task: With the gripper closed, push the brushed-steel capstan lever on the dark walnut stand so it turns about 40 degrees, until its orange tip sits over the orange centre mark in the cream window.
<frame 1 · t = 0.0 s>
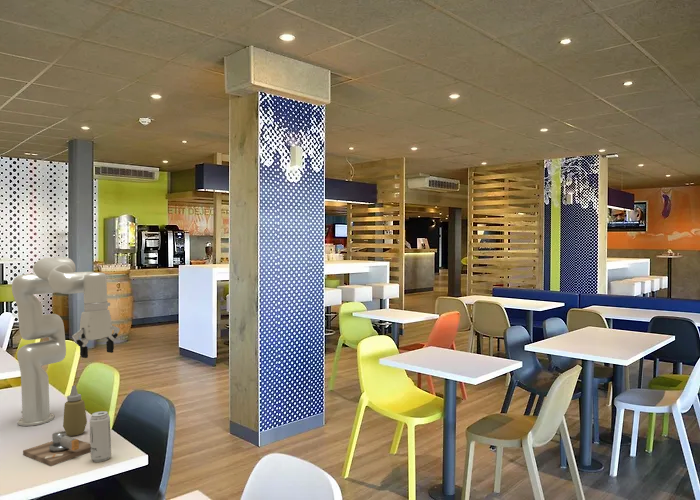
hand: (97, 354, 189), 31 cm above the table, tool pointing down, fingers open, 9 cm apart
capstan: (65, 442, 179), point 4 cm above the table, hinge at 40.0°
squeeze bottle: (75, 434, 199), on the table
energy drink can: (101, 459, 174), on the table
walnut stand: (59, 452, 181), on the table
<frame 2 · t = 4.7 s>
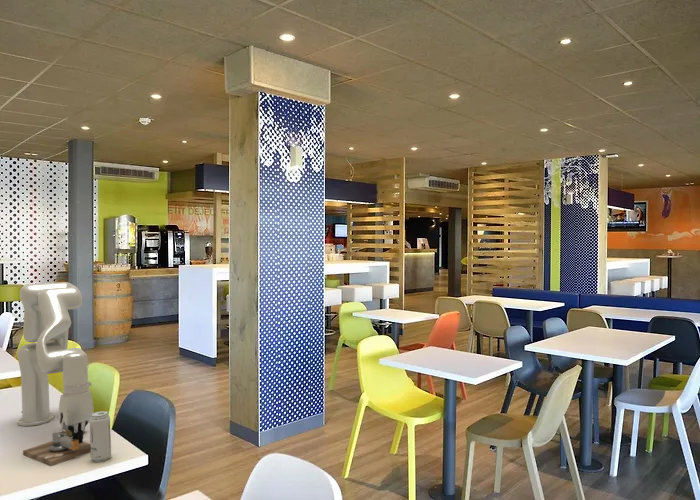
hand: (77, 442, 179), 4 cm above the table, tool pointing down, fingers closed
capstan: (65, 442, 178), point 4 cm above the table, hinge at 40.0°, touching gripper
everything else where it was.
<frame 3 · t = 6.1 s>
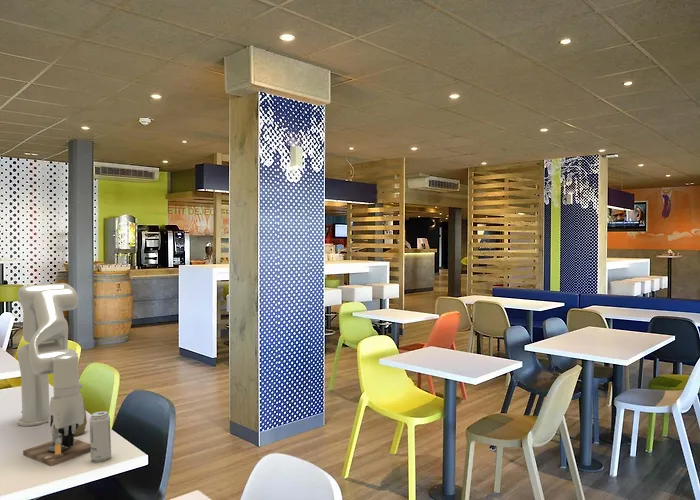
hand: (68, 445, 177), 4 cm above the table, tool pointing down, fingers closed
capstan: (58, 444, 177), point 4 cm above the table, hinge at 9.9°, touching gripper
everything else where it was.
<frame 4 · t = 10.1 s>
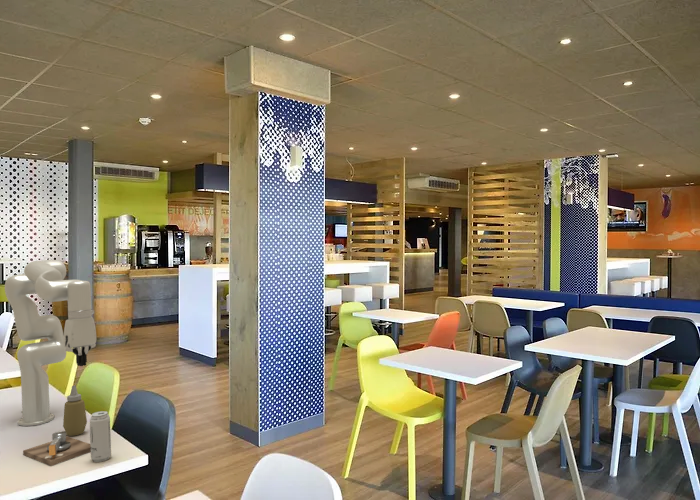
hand: (81, 365, 192), 27 cm above the table, tool pointing down, fingers closed
capstan: (56, 444, 177), point 4 cm above the table, hinge at 0.9°
everything else where it was.
at the end: capstan at +1° (first picture: +40°); squeeze bottle moved 0.2 cm from its start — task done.
